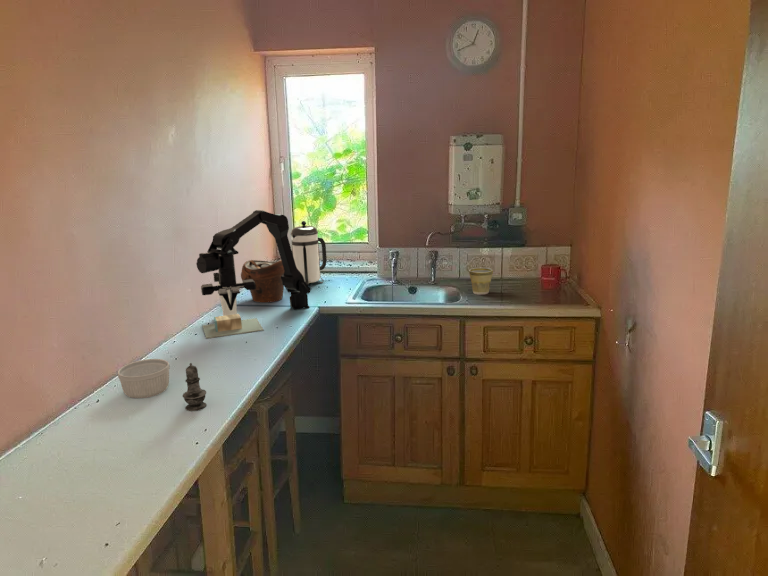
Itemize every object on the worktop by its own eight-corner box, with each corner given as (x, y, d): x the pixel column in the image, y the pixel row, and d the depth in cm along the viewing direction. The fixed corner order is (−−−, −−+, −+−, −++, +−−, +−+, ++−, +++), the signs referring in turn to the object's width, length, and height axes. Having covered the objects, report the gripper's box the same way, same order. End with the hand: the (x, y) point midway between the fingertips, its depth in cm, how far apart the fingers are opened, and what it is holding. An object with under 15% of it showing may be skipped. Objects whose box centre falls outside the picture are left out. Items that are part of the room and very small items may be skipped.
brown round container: (241, 296, 263) (237, 257, 258) (286, 291, 269) (283, 253, 264) (245, 307, 246) (241, 265, 242) (293, 301, 252) (290, 260, 248)
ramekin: (135, 405, 155) (131, 380, 153) (112, 392, 163) (108, 369, 162) (181, 388, 164) (178, 365, 163) (157, 377, 173) (154, 355, 171)
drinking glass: (234, 318, 229) (230, 280, 226) (218, 318, 230) (214, 281, 227) (241, 313, 236) (238, 277, 232) (226, 313, 237) (221, 277, 233)
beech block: (238, 313, 220) (213, 317, 217) (240, 317, 214) (215, 321, 211) (239, 324, 221) (214, 327, 218) (241, 328, 215) (216, 332, 212)
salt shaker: (198, 400, 156) (192, 357, 153) (212, 404, 153) (207, 361, 150) (179, 408, 152) (173, 364, 149) (193, 413, 148) (188, 368, 145)
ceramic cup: (482, 296, 247) (482, 273, 245) (464, 293, 255) (464, 270, 252) (501, 291, 256) (501, 268, 253) (483, 287, 263) (483, 265, 261)
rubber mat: (256, 319, 228) (256, 318, 228) (263, 330, 213) (263, 329, 213) (202, 326, 221) (202, 325, 221) (206, 338, 207) (206, 337, 206)
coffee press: (324, 286, 276) (319, 222, 269) (289, 287, 276) (284, 223, 269) (327, 278, 293) (324, 217, 286) (295, 279, 293) (291, 218, 286)
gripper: (249, 261, 222) (253, 301, 226) (197, 266, 216) (202, 308, 220) (254, 266, 212) (258, 308, 216) (200, 272, 206) (204, 315, 210)
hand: (230, 310), depth 216 cm, fingers closed
